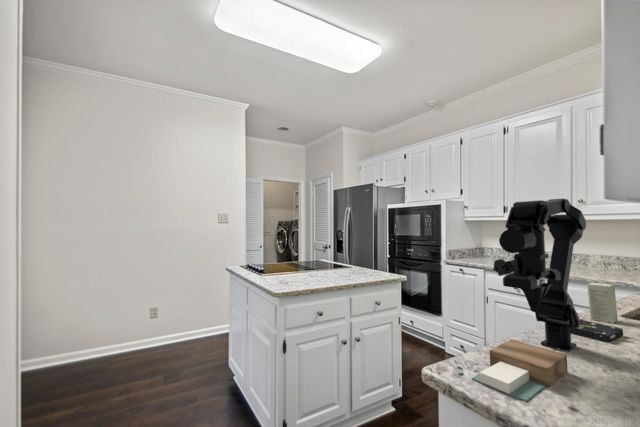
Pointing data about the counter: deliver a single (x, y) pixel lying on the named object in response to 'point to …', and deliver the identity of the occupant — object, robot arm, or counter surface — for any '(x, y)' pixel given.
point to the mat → (520, 389)
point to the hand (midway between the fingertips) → (534, 311)
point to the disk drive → (597, 331)
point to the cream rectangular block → (504, 376)
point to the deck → (532, 361)
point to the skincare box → (602, 302)
